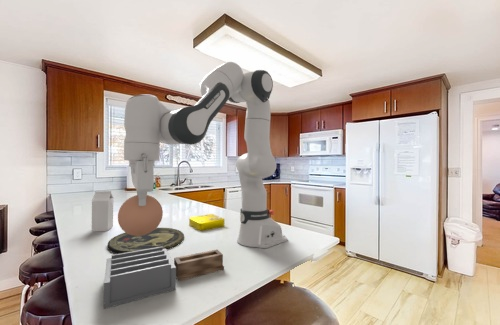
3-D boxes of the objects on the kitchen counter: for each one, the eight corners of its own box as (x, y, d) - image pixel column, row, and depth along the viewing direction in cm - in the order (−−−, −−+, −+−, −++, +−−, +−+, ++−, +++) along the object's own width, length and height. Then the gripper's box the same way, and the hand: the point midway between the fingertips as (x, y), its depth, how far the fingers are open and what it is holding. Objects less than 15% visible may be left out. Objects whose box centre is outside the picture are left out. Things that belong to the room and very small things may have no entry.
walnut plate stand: (215, 261, 78) (216, 248, 78) (223, 269, 72) (224, 255, 72) (173, 270, 71) (173, 256, 71) (178, 281, 65) (178, 265, 65)
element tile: (212, 221, 132) (212, 212, 132) (225, 227, 120) (226, 218, 120) (187, 225, 123) (188, 216, 123) (200, 232, 111) (200, 222, 111)
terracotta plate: (161, 231, 65) (162, 193, 65) (162, 232, 64) (163, 194, 64) (117, 237, 59) (118, 195, 59) (117, 238, 58) (118, 196, 58)
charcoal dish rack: (165, 266, 74) (165, 245, 74) (175, 289, 61) (176, 263, 61) (106, 279, 65) (106, 255, 65) (103, 308, 53) (104, 279, 53)
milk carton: (108, 230, 110) (108, 192, 110) (91, 231, 108) (91, 192, 108) (113, 226, 117) (113, 190, 116) (97, 227, 115) (98, 190, 115)
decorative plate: (88, 247, 85) (141, 224, 115) (87, 252, 85) (140, 228, 115) (158, 255, 80) (195, 229, 109) (158, 260, 80) (195, 233, 109)
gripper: (160, 153, 54) (159, 210, 54) (150, 155, 72) (149, 198, 72) (131, 152, 51) (130, 213, 51) (127, 154, 69) (127, 199, 69)
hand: (141, 204), depth 62 cm, fingers closed on terracotta plate, 1 cm apart
